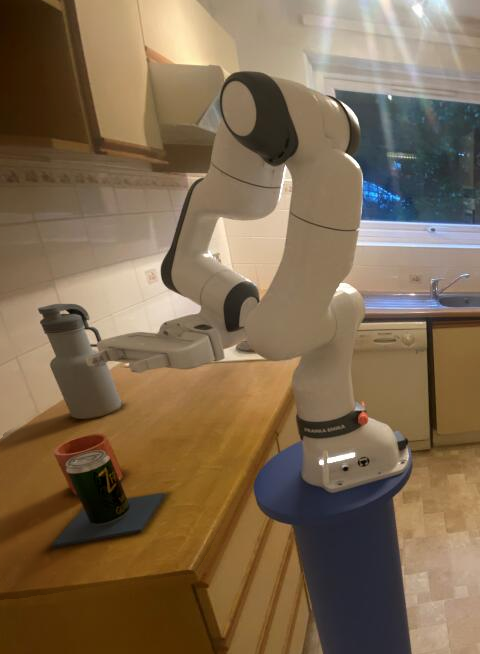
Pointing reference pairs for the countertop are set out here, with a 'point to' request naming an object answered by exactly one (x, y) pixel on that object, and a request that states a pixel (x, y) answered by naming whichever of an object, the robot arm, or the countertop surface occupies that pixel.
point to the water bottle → (78, 363)
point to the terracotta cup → (82, 446)
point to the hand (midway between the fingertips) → (111, 365)
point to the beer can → (98, 487)
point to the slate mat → (130, 524)
